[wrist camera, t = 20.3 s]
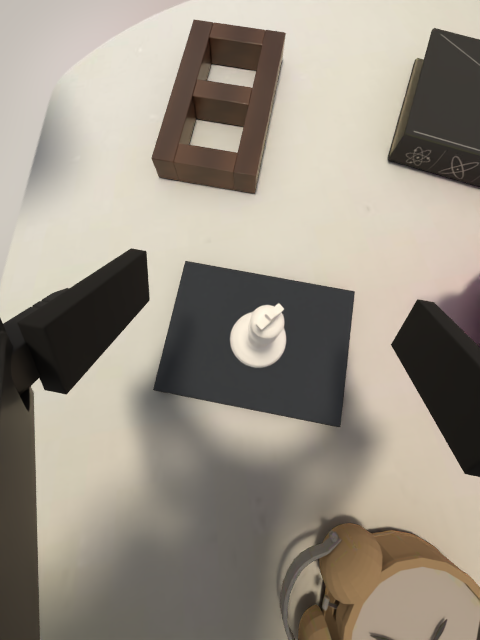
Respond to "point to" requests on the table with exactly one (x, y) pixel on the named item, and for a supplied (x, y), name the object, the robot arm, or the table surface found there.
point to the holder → (220, 106)
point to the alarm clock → (384, 590)
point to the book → (442, 110)
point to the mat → (249, 382)
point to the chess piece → (259, 336)
